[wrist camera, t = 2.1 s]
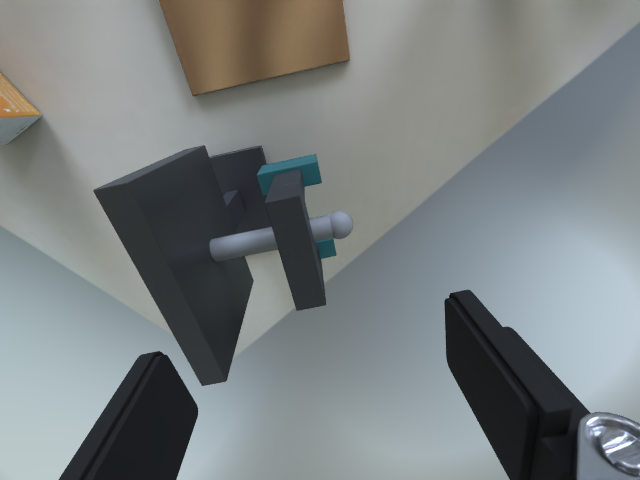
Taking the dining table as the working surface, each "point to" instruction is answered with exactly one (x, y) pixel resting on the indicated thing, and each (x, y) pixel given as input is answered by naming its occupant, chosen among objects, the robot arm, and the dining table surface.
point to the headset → (296, 227)
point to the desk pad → (253, 39)
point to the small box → (14, 112)
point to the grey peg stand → (200, 244)
